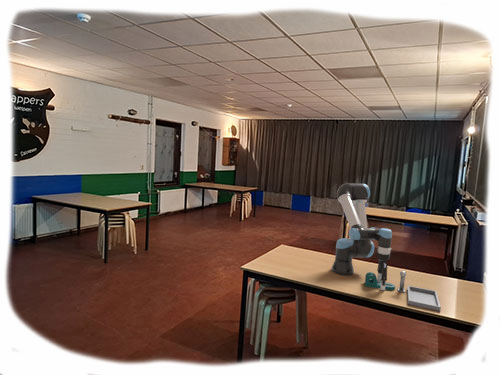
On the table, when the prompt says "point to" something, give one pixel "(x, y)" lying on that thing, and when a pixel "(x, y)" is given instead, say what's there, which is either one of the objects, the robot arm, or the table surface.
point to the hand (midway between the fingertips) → (380, 286)
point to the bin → (423, 298)
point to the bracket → (376, 282)
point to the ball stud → (402, 282)
